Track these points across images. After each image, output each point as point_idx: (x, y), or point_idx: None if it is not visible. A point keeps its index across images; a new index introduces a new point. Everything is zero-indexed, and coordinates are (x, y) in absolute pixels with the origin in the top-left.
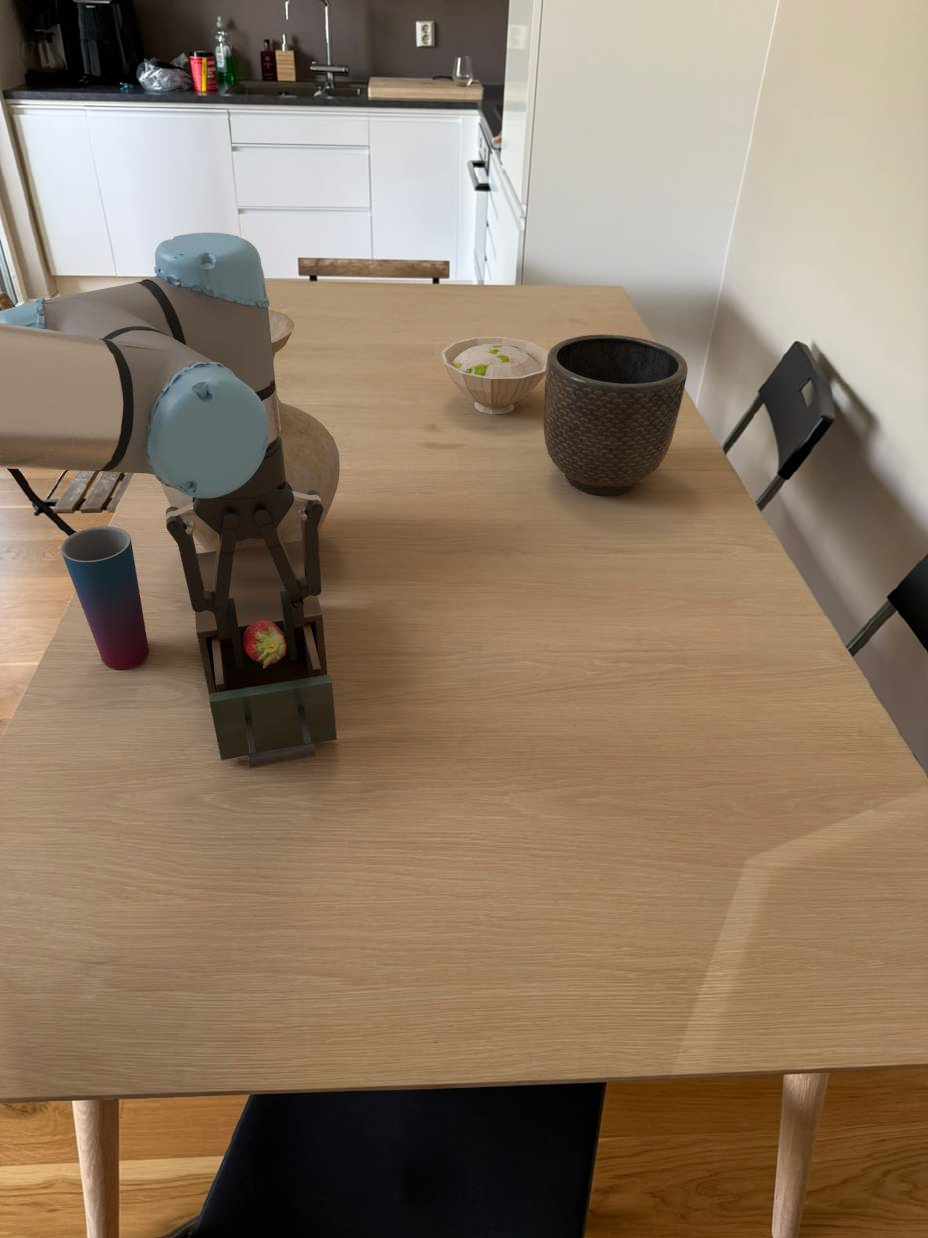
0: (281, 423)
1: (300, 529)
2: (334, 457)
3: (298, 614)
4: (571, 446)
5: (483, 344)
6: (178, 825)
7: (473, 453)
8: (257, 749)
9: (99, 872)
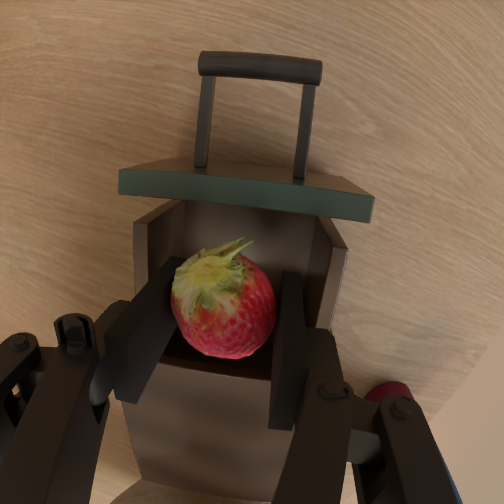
0: None
1: (151, 488)
2: None
3: (108, 322)
4: None
5: None
6: (409, 100)
7: None
8: (289, 169)
9: (485, 83)
